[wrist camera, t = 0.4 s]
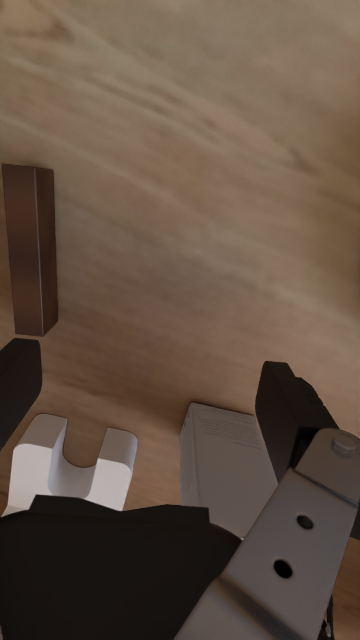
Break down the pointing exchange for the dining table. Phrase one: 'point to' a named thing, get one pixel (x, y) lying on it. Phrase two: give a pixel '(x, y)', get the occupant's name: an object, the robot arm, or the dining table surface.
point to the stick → (31, 247)
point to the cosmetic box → (224, 467)
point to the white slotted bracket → (69, 467)
